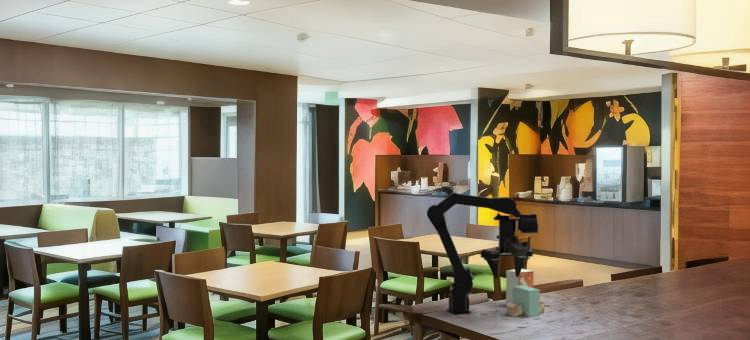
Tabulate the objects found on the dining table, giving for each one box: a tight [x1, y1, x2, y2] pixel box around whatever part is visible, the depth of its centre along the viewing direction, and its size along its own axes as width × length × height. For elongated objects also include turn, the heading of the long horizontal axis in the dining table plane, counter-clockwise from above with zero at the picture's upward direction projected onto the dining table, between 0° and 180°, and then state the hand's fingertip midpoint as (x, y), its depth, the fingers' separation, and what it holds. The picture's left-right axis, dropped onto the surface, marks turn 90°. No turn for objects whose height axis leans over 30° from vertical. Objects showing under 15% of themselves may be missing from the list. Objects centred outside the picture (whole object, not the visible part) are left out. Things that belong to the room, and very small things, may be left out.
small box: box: [505, 268, 535, 306], centre depth 241 cm, size 8×6×13 cm
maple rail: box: [506, 299, 545, 317], centre depth 227 cm, size 14×3×4 cm, turn 116°
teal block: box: [512, 285, 541, 318], centre depth 227 cm, size 4×9×9 cm, turn 26°
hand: (506, 277), depth 227 cm, fingers open, 9 cm apart
